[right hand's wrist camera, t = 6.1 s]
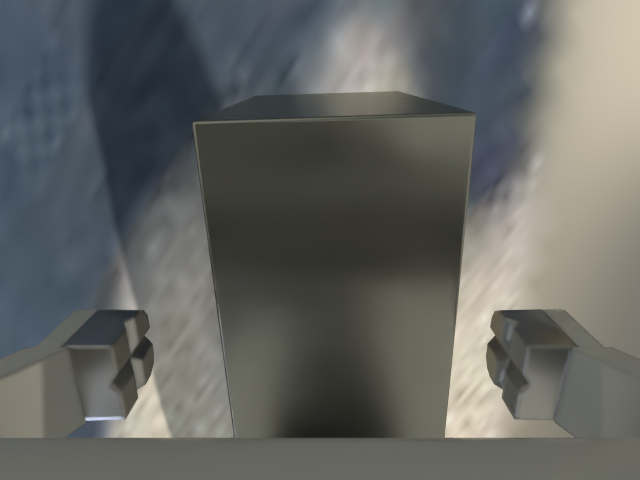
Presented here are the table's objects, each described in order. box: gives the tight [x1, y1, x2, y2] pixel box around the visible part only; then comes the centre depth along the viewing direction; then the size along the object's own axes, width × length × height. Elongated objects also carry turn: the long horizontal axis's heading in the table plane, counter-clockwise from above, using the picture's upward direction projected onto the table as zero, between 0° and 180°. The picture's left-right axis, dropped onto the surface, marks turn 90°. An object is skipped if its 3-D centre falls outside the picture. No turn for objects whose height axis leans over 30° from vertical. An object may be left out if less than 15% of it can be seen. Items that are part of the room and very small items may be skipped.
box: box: [192, 91, 476, 438], centre depth 17 cm, size 23×6×9 cm, turn 2°
